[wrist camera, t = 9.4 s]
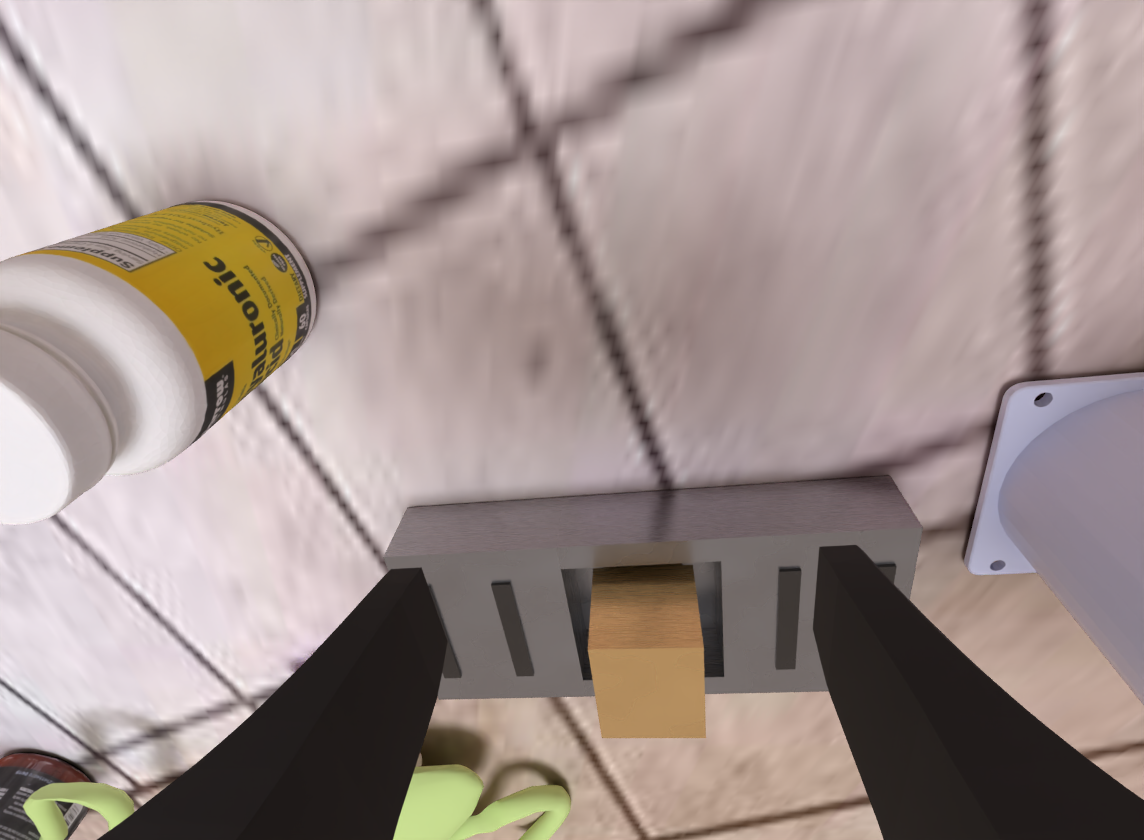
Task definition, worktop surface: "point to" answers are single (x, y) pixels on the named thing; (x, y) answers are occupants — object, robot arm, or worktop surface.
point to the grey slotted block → (645, 537)
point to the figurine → (423, 828)
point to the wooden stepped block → (647, 652)
